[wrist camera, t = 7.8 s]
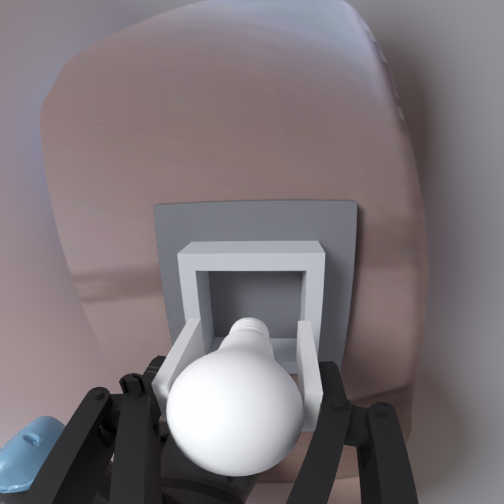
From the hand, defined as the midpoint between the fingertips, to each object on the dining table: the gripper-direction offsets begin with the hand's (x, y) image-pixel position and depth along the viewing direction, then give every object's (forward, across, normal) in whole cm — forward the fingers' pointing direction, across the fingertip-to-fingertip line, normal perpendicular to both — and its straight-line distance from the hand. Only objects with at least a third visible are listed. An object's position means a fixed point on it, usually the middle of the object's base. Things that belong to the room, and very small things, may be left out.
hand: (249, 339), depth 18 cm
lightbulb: (+2, 0, 0) cm, 2 cm away
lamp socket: (+7, 0, 0) cm, 7 cm away
